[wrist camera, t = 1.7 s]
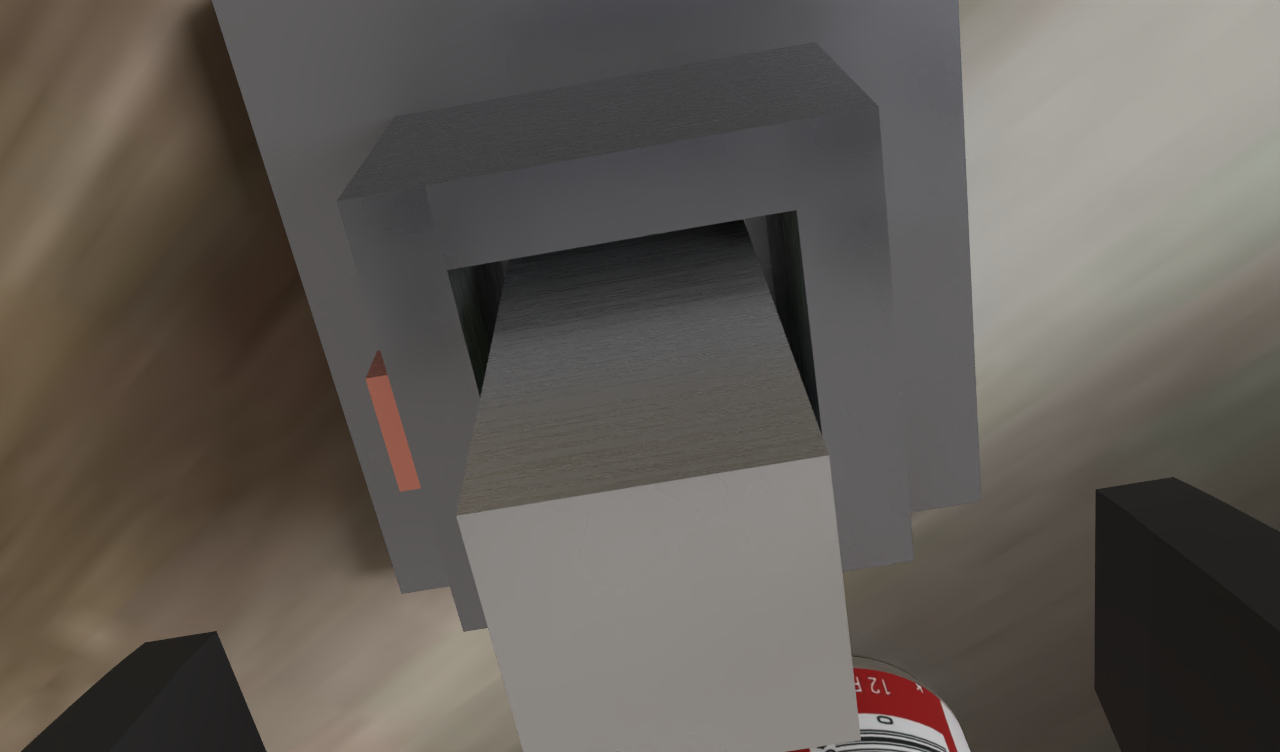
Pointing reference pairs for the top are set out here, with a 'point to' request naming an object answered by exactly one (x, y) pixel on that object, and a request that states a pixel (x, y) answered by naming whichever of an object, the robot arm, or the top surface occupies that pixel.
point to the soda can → (898, 714)
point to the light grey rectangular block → (656, 507)
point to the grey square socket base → (623, 215)
